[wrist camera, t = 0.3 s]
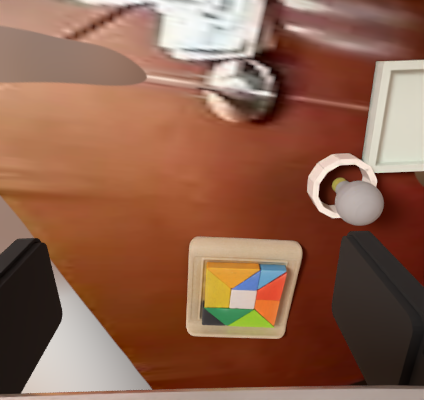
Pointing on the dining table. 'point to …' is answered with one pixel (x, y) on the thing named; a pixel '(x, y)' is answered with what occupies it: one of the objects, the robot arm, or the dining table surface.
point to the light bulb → (357, 201)
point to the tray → (396, 118)
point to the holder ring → (327, 166)
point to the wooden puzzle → (240, 286)
